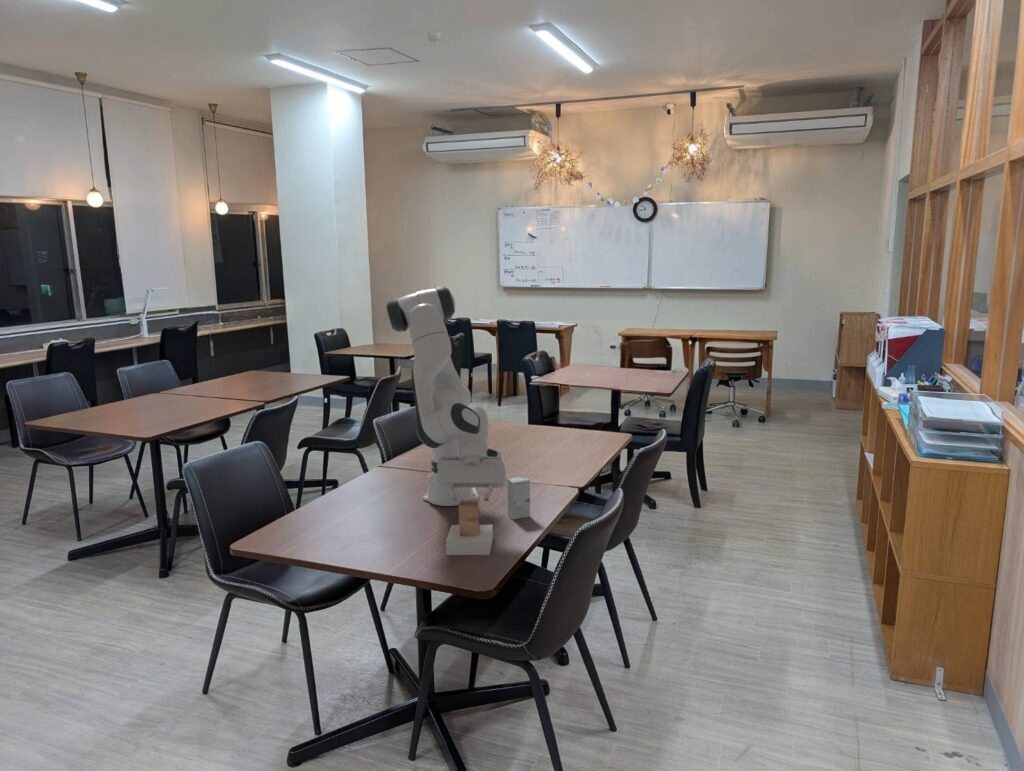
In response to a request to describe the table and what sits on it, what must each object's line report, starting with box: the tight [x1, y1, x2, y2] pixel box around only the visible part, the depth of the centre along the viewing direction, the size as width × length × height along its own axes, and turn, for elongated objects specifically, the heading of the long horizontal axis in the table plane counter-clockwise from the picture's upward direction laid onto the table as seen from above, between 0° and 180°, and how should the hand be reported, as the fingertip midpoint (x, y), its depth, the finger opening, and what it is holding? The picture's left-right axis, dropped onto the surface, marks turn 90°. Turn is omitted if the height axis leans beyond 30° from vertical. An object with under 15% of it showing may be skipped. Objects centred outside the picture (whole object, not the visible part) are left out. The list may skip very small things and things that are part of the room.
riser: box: [445, 524, 494, 556], centre depth 198 cm, size 12×12×4 cm
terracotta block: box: [458, 499, 480, 536], centre depth 196 cm, size 5×5×9 cm
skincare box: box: [506, 476, 531, 520], centre depth 219 cm, size 6×4×12 cm
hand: (470, 500), depth 198 cm, fingers open, 8 cm apart
